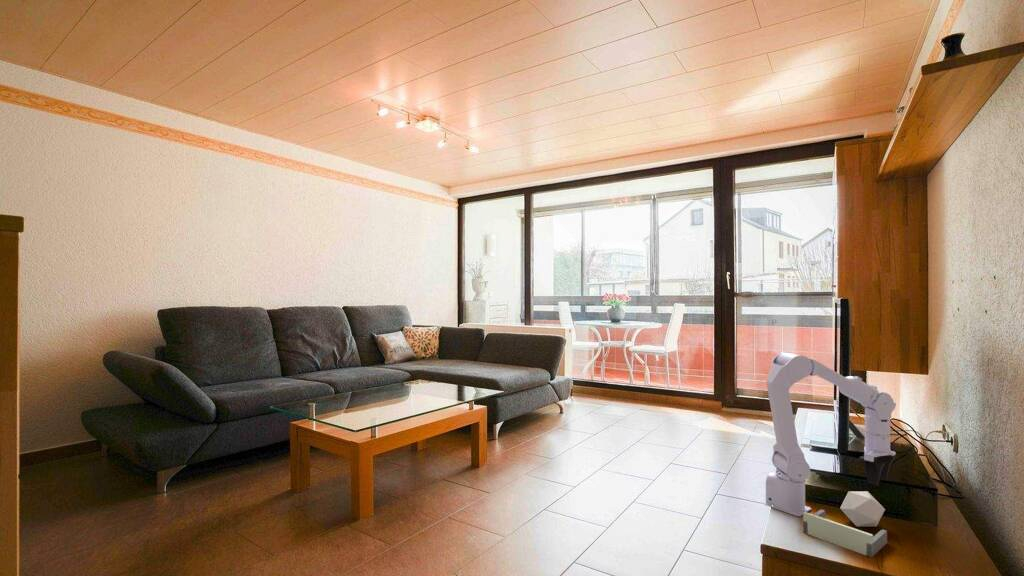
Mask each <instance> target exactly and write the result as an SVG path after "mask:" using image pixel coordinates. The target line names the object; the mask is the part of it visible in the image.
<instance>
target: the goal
mask: <svg viewBox="0 0 1024 576" xmlns="http://www.w3.org/2000/svg"><path fill="white" fill-rule="evenodd" d="M802 518H803V519H802V520H803V525H802V528H803V529H802V530H803V531H802V532H803V533H804V534H807V535H810V536H811V537H815V538H817V539H820V540H823V541H825V542H828V543H831V544H834V545H836V546H839V547H842V548H845V549H848V550H850V551H853V552H856V553H858V554H861V555H864V556H866V557H869V558H873V557H875V555H876V554H877V553H878V552H879V551H880V550H881V549H882V548H883V547H884V546H886V545H887V544H888V530H886V529H880V531H878V532H877V533H876V534H875V535H874V534H872V533H869V532H866V531H863V530H860V529H857V528H854V527H852V526H848V525H845V524H843V523H840V522H836V521H834V520H831V519H828V518H826V510H824V509H819V510H818V511H816V512H815V513H810V512H804V513H803V515H802Z"/></svg>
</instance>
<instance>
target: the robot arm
mask: <svg viewBox="0 0 1024 576" xmlns="http://www.w3.org/2000/svg"><path fill="white" fill-rule="evenodd" d="M770 362H771V367H770V371H769V373H768V376H767V379H766V388H767V393H768V400H769V405H770V410H771V418H772V423H773V428H774V435H775V440H776V443H775V444H774V445H773V447H772V450H773V453H772V457H771V462H772V465H773V466H774V467H775V468H776V469H775V472H774V471H770V472H769V473H768V474H767V476H766V479H765V502H764V506H767V507H769V508H771V509H772V508H773V509H776V510H779V511H781V512H784V513H786V514H790V515H792V516H795V517H799V518H800V517H801V516H803V513H804V512H807V513H809V511H811V510H812V508H811V507H810V506H807V505H806V480H807V479H808V478H809V476H810V474H811V467H810V465H809V463H808V462H807V460H806V458H805V454H804V452H803V450H802V449H801V447H800V445H799V443H798V442H799V440H798V437H797V430H796V424H795V419H794V418H795V417H794V412H793V406H792V399H791V394H790V389H791V387H793V386H794V385H795V384H796V383H798V382H800V381H802V380H803V379H805V378H807V377H808V376H810V377H815V376H816V377H818V378H819V379H822V380H824V381H827V382H829V383H831V384H833V385H834V386H837V387H838V391H839V393H841V394H842V395H844V396H845V397H848V398H850V399H851V400H853V401H855V402H857V403H859V404H860V405H861V406H862V407H863V408H864V447H863V450H864V453H863V455H861V456H859V461H860V463H861V465H862V467H863V469H864V472H865V475H866V480H867V483H868V484H869V485H873V486H876V487H878V486H879V485H880V484H879V483H880V480H881V479H880V477H882V478H887V479H888V475H889V472H890V471H889V470H890V468H891V465H892V463H893V461H894V460H895V458H896V454H897V453H896V451H893V450H891V418H892V413H893V411H894V410H895V409H896V407H897V403H896V402H895V400H894V398H893V397H892V396H891V395H890V394H889V393H887V392H884V391H880V390H878V387H877V386H876V385H871V384H868V383H867V382H864V381H863V378H862V377H859V376H858V375H857V376H856V375H855V376H852V375H849V376H848V375H847V376H843V375H842V374H840V373H838V372H837V371H835V370H834V369H832V368H830V367H828V366H827V365H825V364H823V363H822V362H820V361H817V360H815V359H814V358H813V359H812V358H810V357H808V356H806V355H802V354H801V355H800V354H796V353H792V352H789V351H782V352H779V353H778V354H776V355H775V357H774V358H772V359H771V361H770ZM772 505H773V507H772Z"/></svg>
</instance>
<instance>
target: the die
mask: <svg viewBox="0 0 1024 576" xmlns="http://www.w3.org/2000/svg"><path fill="white" fill-rule="evenodd" d="M839 508H840V510H841V511H842V513H843V514H845V515H846V517H847V518H848V519H849V520H850V521H851V522H852V524H854V526H856V527H859V528H860V527H863V528H864V527H875V528H876V527H877V526H878V524H879V522H880V520H881V519H882V517H883V514H884V512H885V511H886V509H885V508H884V506H883V505H882V504H880V502H879V501H877V499H876V498H875V497H874V496H873V495H872V494H871V493H870V492H869V491H866V490H864V491H853V490H852V491H847V494H846V496H845V498H844V500H843V501H842V504H841V506H840V507H839Z"/></svg>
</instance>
